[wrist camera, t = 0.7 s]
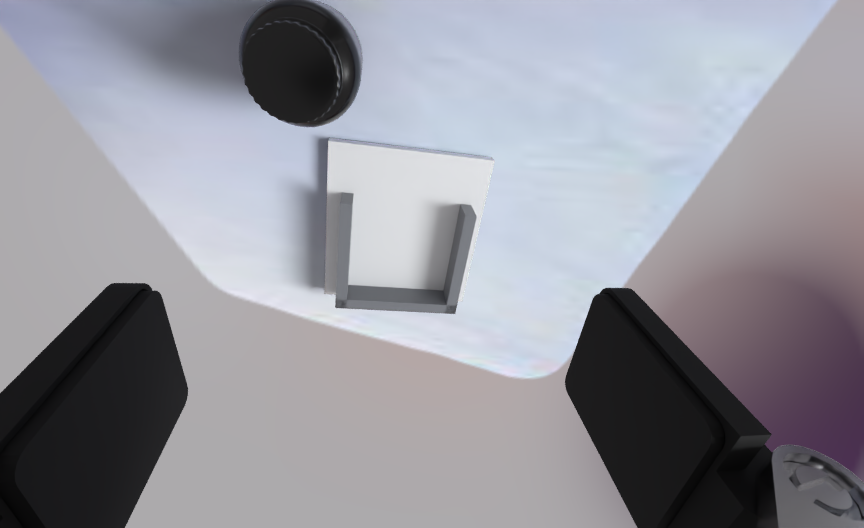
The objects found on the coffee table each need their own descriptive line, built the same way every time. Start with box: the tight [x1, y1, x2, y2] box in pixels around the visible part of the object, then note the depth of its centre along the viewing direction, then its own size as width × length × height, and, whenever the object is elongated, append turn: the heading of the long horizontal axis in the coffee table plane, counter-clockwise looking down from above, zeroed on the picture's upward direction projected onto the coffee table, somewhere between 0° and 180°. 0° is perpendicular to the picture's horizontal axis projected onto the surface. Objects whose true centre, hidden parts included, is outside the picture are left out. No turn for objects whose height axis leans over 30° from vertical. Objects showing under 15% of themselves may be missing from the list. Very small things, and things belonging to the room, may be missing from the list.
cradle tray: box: [324, 138, 495, 314], centre depth 37 cm, size 15×14×4 cm
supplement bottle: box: [239, 0, 362, 127], centre depth 26 cm, size 7×7×12 cm
